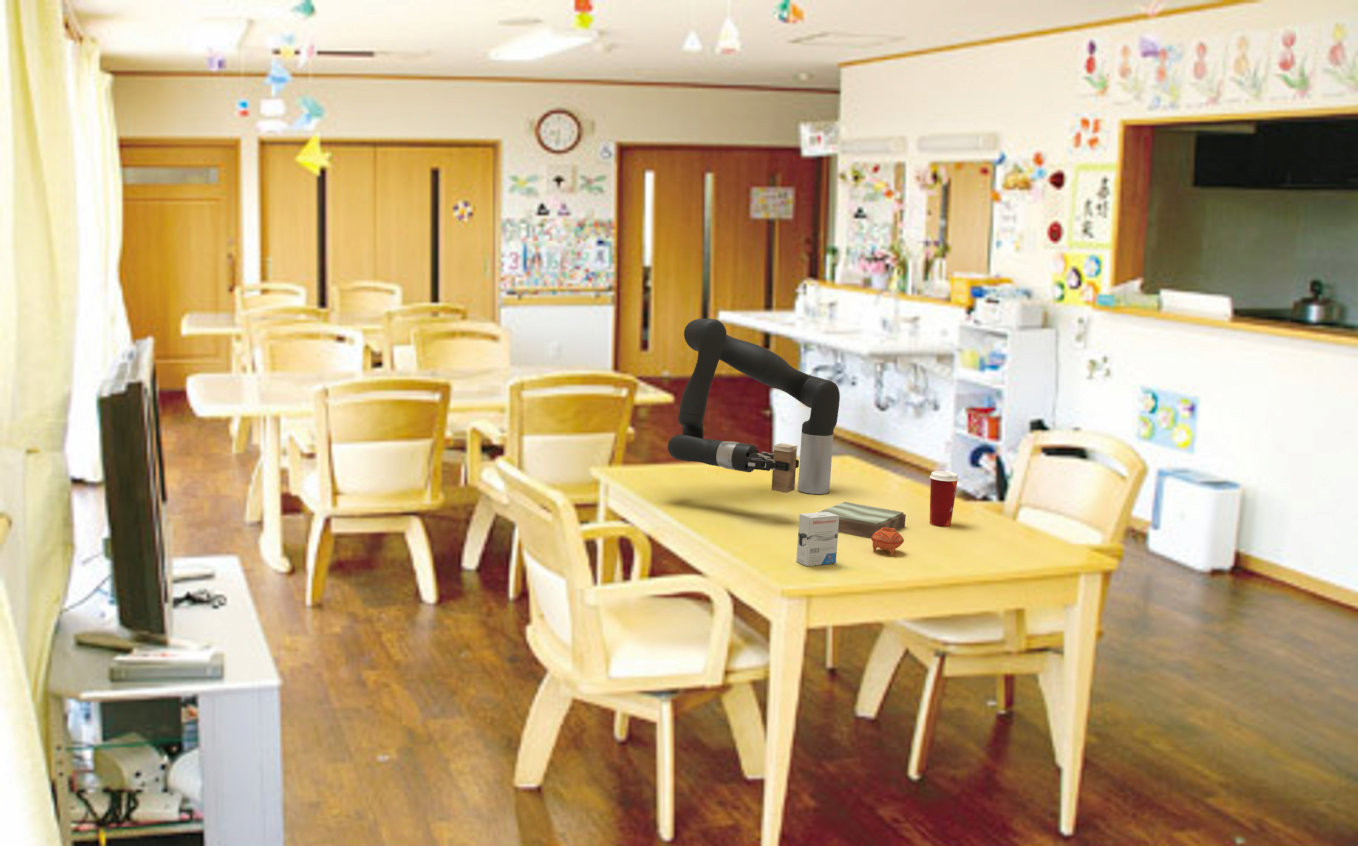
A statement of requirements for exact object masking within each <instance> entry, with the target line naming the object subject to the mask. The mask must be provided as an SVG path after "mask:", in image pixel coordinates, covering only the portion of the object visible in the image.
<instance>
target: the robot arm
mask: <svg viewBox="0 0 1358 846" xmlns="http://www.w3.org/2000/svg"><path fill="white" fill-rule="evenodd" d="M683 338H684V340H685V343H686V344H687V346H689V348H690V349H692V351H695V352H697V358H696V363H695V367H694V369H693V371H692V374H691V376H690V378H689V380H688V382H687V384H686V385H685V388H684V389H683V390H684V391H683V392H682V397H681V399H680V406H679V412H678V416H677V420H678V423H679V424H680V425H681V426H682V432H681V433H682V434H676V435H674V436H672V437H671V438H670V439H669V441H668V443H667V450H668V454H669V455H670V456H671V457H672V458H673V459H675V460H678V461H685V462H694V463H702V464H705V465H708V466H713V467H714V466H715V467H719V468H720V467H721V468H722V469H723V468H724V469H726V470H731V471H739V472H744V473H753V471H754V470H756V471H758V470H759V471H766V472H770V471H773V470H776V469H777V470H783V471H789V470H790V463H788V462H782V461H776V460H773V454H774V451H771V452H767V451H761V453H760V452H759V451H758V447H757V446H756V444H750V443H743V442H738V441H731V440H729V441H725V440H719V439H712V438H711V439H709V438H704V424H703V423H704V418H705V414H706V410H707V409H706V408H707V403H708V398H709V394H710V390H711V386H712V383H713V379H714V377H715V374H716V371H717V367H718V365H719V362H720V361H721V362H723V363H724V364H727V365H729V367H731V368H732V369H735V370H736V371H738V372H740V373H742V374H744V375H745V376H747V377H749V378H750V379H753V380H755V381H756V382H759V383H760V384H763V385H766V386H768V387H771V388H774V389H776V390H780V391H782V392H784V393H786V394H787V395H789V396H791V397H792V398H794V399H795V400H797V401H798V402H799V403H801V404H803V406H806V407H807V408H810V415H809V419H808V420H805V421H803V423H802V425H801V436H800V450H799V451H800V452H799V459H797V458H796V469H798V481H797V490H798V491H799V492H802V493H805V494H813V495H824V494H825V495H826V494H828V493H830V487H831V475H832V474H831V471H832V460H833V459H832V458H833V457H832V456H833V446H834V445H833V443H834V431H835V428H836V425H837V423H838V419H839V418H838V417H839V411H840V410H839V408H840V399H841V398H840V397H841V395H840V394H841V393H840V389H839V386H838V385H837V384H836V383H835V382H834V381H831V379H830V380H829V379H825V378H822V377H817V376H814V375H812V374H808V373H805V372H802V371H800V370H798V369H797V368H795V367H793V366H791V365H790V364H789V363H788V362H787V361H786V360H785V359H784V358H783V357H782V356H780V355H779V354H777V353H775V352H773V351H771V350H769V349H768V348H765V347H763V346H761V345H759V344H755V343H752V342H750V341H746V340H742V339H739V338H735V337H732V336H731V335H728V333H727V329H726V327H725V324H724V323H722V321H720V320H718V319H715V318H696V319H694V320H691V321H690V322H688V323H687V324H686V326H685V327H684V331H683Z"/></svg>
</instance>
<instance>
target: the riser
mask: <svg viewBox="0 0 1358 846" xmlns="http://www.w3.org/2000/svg"><path fill="white" fill-rule="evenodd" d="M819 512H830V513H832V514H835V515H838V516H839V527H838V533H842V534H847V535H851V534H852V536H858V537H861V538H868V539H871V537H872V535H873V534H874V533H875V532H877V531H878V530H881V528H883V527H886V528H894V529H896V530H897V531H899V530H901V529H903V528H906V517H907V515H906V513H904V512H903V511H898V510H893V509H889V508H882V507H876V506H871V505H865V504H859V503H855V502H848V501H843V502H841V503H838V504H836V505H833V506H830V507H828V508H825V509H823V510H820V511H817V512H816V513H819Z"/></svg>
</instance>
